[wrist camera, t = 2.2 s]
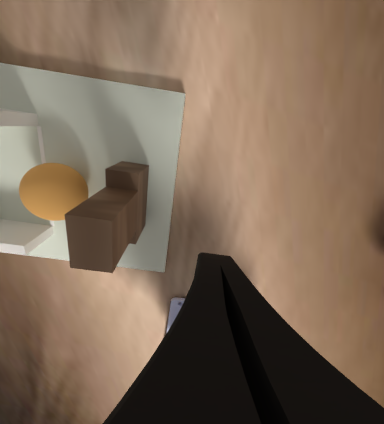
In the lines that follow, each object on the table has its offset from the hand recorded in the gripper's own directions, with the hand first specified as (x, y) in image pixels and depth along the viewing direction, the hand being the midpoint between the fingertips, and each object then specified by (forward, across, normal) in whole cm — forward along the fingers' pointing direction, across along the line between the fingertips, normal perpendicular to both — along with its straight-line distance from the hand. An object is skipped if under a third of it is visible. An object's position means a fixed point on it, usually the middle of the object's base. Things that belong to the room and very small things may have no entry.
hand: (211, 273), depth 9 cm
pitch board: (+9, +10, 0) cm, 14 cm away
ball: (+7, +10, 0) cm, 12 cm away
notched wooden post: (+8, +6, 0) cm, 10 cm away
